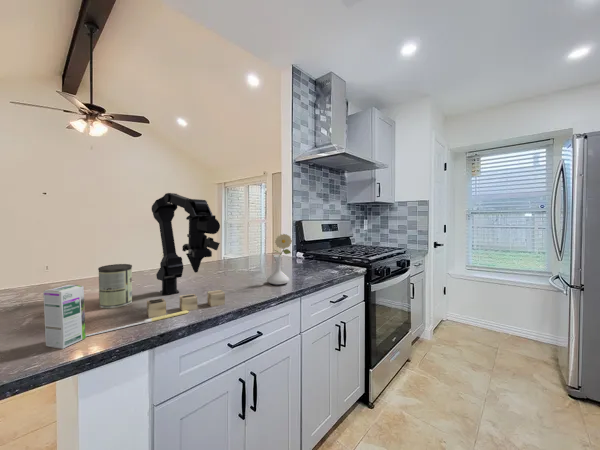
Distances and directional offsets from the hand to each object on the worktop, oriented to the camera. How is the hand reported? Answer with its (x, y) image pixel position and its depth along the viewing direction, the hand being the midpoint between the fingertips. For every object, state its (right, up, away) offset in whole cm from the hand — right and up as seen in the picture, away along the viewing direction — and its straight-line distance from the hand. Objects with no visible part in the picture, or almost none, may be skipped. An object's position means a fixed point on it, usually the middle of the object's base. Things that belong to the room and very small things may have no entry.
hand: (195, 272), depth 102 cm
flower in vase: (+30, -11, +30) cm, 44 cm away
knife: (-11, -13, -22) cm, 27 cm away
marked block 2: (0, -12, -7) cm, 14 cm away
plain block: (+8, -12, -2) cm, 15 cm away
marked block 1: (-8, -12, -13) cm, 20 cm away
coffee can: (-29, -11, -4) cm, 31 cm away
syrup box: (-21, -13, -34) cm, 41 cm away
